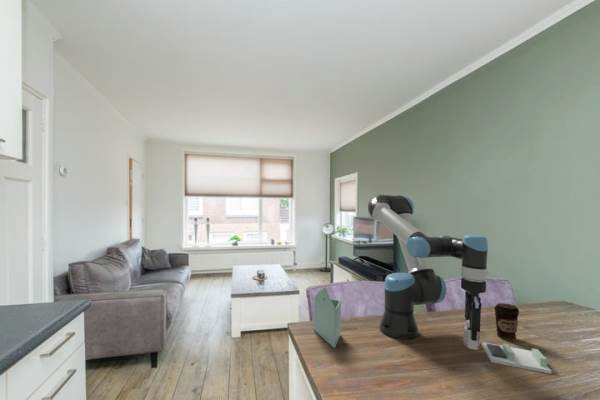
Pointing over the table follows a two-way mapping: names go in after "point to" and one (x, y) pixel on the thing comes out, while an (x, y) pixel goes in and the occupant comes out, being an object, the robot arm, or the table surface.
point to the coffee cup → (506, 321)
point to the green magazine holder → (327, 317)
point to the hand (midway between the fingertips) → (471, 344)
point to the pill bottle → (466, 332)
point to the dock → (517, 357)
